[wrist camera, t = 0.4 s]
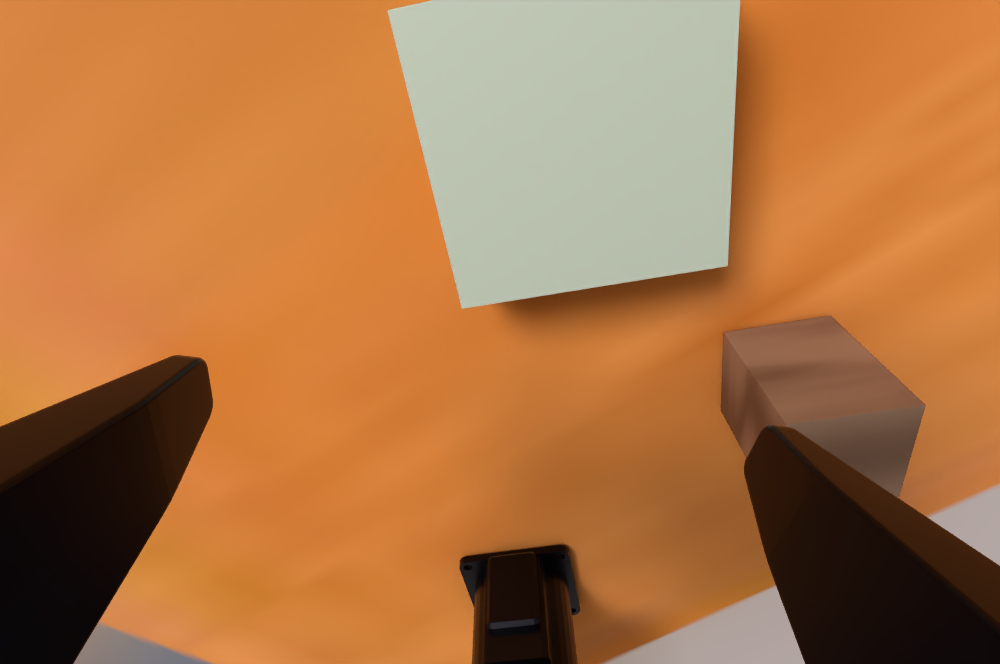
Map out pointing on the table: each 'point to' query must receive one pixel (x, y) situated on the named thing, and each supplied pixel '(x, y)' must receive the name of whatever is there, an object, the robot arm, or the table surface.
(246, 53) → the table surface
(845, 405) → the walnut block
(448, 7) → the sage base block
